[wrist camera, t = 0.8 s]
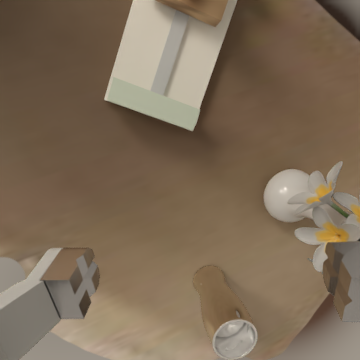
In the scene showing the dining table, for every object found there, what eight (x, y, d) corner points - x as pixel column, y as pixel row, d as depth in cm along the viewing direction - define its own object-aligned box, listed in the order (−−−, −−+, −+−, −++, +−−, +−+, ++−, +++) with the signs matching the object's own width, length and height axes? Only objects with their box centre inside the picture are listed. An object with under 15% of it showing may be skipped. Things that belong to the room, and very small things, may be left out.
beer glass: (222, 258, 53) (254, 312, 39) (229, 289, 55) (262, 352, 41) (186, 269, 53) (206, 327, 38) (195, 300, 54) (216, 367, 40)
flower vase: (256, 134, 49) (372, 153, 25) (333, 183, 53) (496, 241, 29) (216, 198, 50) (290, 275, 26) (295, 241, 55) (419, 341, 31)
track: (105, 100, 44) (99, 97, 36) (154, -67, 40) (158, -109, 32) (189, 130, 47) (199, 133, 39) (242, -22, 43) (265, -52, 35)
